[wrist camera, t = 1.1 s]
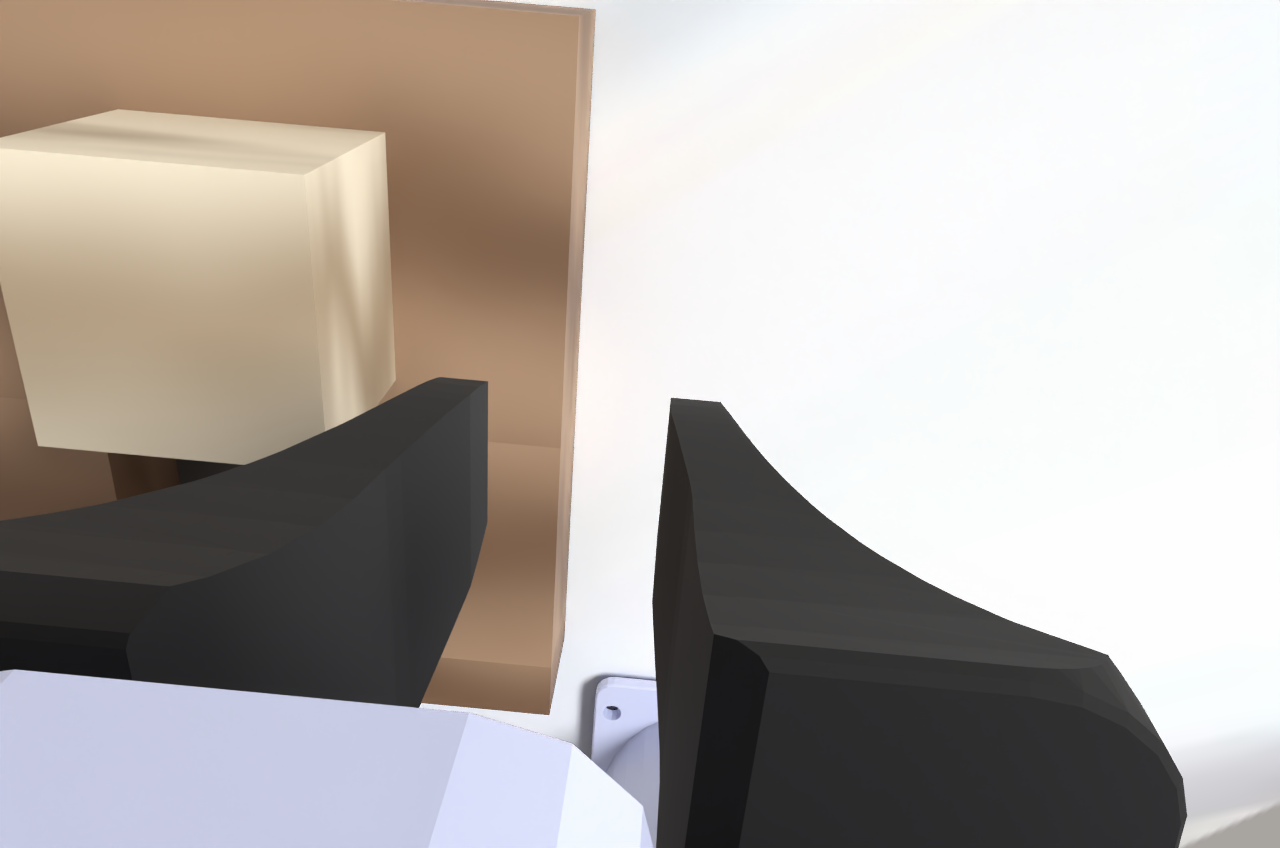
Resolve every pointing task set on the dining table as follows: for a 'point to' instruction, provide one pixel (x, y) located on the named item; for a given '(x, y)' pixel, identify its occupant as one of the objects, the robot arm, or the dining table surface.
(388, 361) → the maple block
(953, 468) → the dining table surface
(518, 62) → the board
